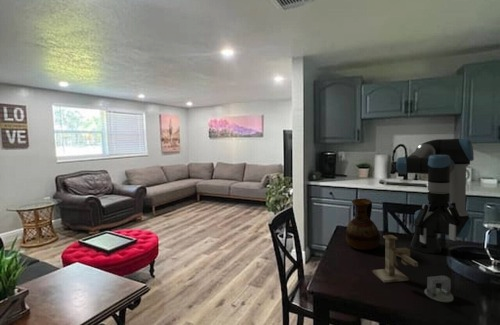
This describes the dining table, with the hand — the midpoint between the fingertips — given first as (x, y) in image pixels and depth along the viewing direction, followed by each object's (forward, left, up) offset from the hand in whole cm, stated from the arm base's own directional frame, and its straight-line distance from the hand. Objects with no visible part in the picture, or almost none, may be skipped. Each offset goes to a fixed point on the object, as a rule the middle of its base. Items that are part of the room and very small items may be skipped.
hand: (437, 241), depth 115 cm
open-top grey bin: (+2, +3, -22) cm, 22 cm away
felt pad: (+1, +3, -22) cm, 22 cm away
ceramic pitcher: (+5, -52, -23) cm, 57 cm away
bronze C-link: (+11, -8, -13) cm, 19 cm away
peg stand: (+11, -9, -22) cm, 27 cm away
